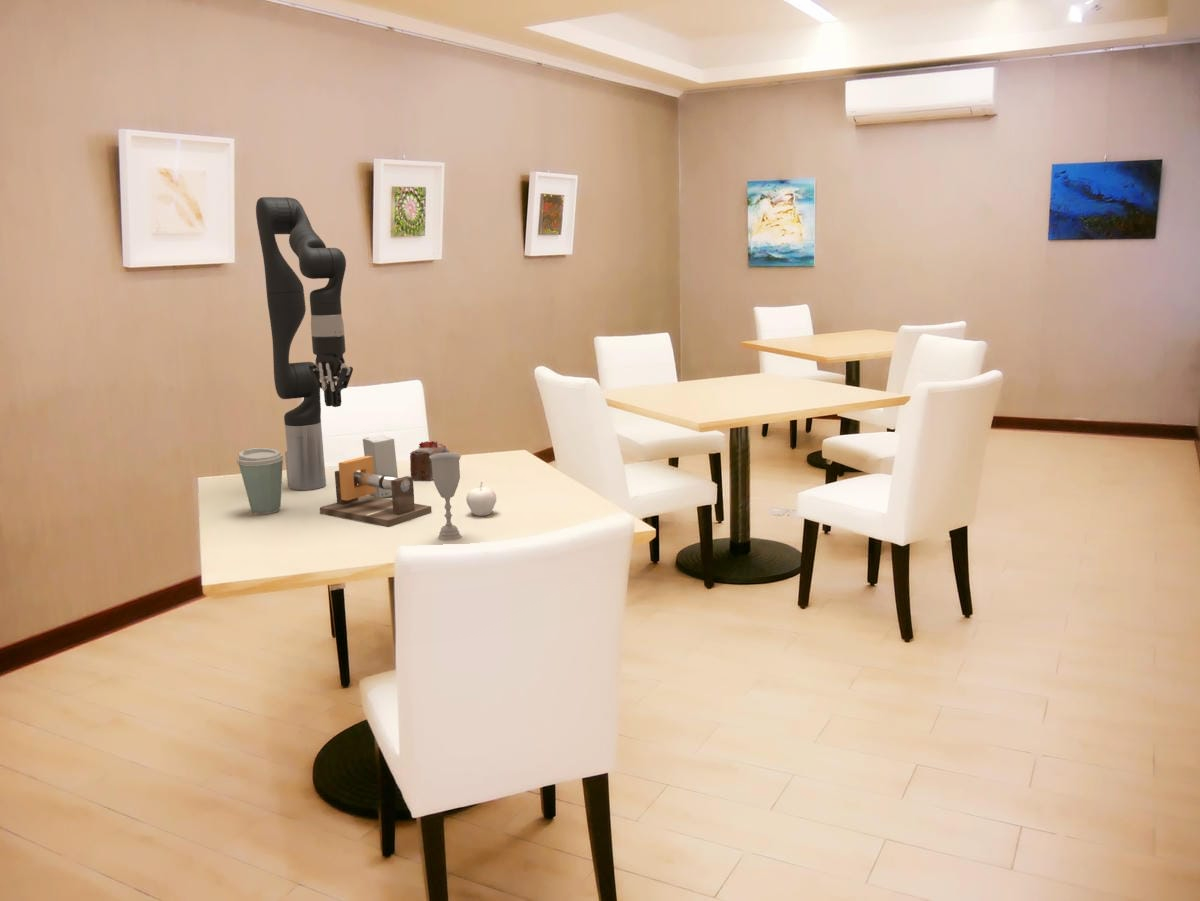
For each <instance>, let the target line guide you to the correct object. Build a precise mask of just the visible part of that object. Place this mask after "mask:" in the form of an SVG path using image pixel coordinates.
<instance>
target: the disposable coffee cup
mask: <svg viewBox="0 0 1200 901" xmlns="http://www.w3.org/2000/svg"><path fill="white" fill-rule="evenodd" d="M283 460H284V455H283V454H282V452H280V451H279V450H278V449H274V448H266V447H257V448H253V447H252V448H247V449H243V450H241V451H240V452H238V457H237V458H236V464H237V465H238V466H239V471H240V474H241V477H242V481H243V484H244V487H245V491H246V495H247V498H248V503H249V506H250V510H251V511H252V513H253V514H254V515H257V516H258V515H259V516H260V515H263V516H264V515H271V514H274V513H278V512H279V511H280V508H281V506H282V502H281V501H282V487H283V486H282V480H283V464H284V463H283Z"/></svg>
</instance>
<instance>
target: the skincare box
mask: <svg viewBox="0 0 1200 901" xmlns="http://www.w3.org/2000/svg"><path fill="white" fill-rule="evenodd" d="M362 444H363V445H362V446H363V453H364V454H363V455H364V456H373V466H374V474H377V475H386V476H390V477H396V478H399V476H398V465H397V456H396V445H395V438H393V437H389V436H386V435H383V434H382V435H376V436H369V437H364V438H362ZM364 456H363V457H364ZM371 496H374V497H380V498H390V497H391V498H392V490H390V489H382V488H378V487H375V493H372V494H371Z"/></svg>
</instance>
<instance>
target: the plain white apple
mask: <svg viewBox="0 0 1200 901" xmlns="http://www.w3.org/2000/svg"><path fill="white" fill-rule="evenodd" d="M483 483H484V482H483V481H481V482H480V483H479V484H480V485H479V487H476V488H472V489H470V490H469V491H468V492H467V495H466V498H465V499H466V500H465V501H466V503H467V506H468V508H469V510H470V512H471V513H472V514H473V515H474V516H479V517H485V516H488V515H490V514H491V513H492V512H493V510H494V507H495V505H496V502H497V494H496V492H495V490H493V488H491V487H485V486H483Z"/></svg>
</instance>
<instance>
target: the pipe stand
mask: <svg viewBox="0 0 1200 901" xmlns="http://www.w3.org/2000/svg"><path fill="white" fill-rule="evenodd" d="M404 479H408V480H409V482H410V488H409V490H408V491H407V492H403V490H401V483H402V481H403V480H404ZM334 480H335V483H334V484H335V493H336V494H335V495H336V502H333V503H331V504H327V505H324V506H323V505H322V506H319V514H322V515H326V516H332V517H337V518H342V519H346V520H352V521H357V522H362V523H367V524H374V525H378V526H383V527H387V528H388V527H392V526H395V525H398V524H402V523H404V522H407V521H411V520H412V519H416V518H420V517H421V516H426V515H427V514H431V513H432V506H431V505H426V504H420V503H415V492H414V480H413V477H411V476H409V475H406V476H403V477H398V479H394V480H391V488H392V496H391V498H387V497H383V498H380V497H376V496H374V495H369V494H368V495H365V496H361V497H358V498H355V499H351V500H348V501H347V500H341V487H340V474H339V470H336V471H334ZM408 480H406V481H408ZM404 482H405V481H404ZM355 485H358V484H354V486H355ZM402 485H403V484H402ZM404 486H405V485H404ZM402 488H403V487H402ZM405 491H406V490H405Z"/></svg>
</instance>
